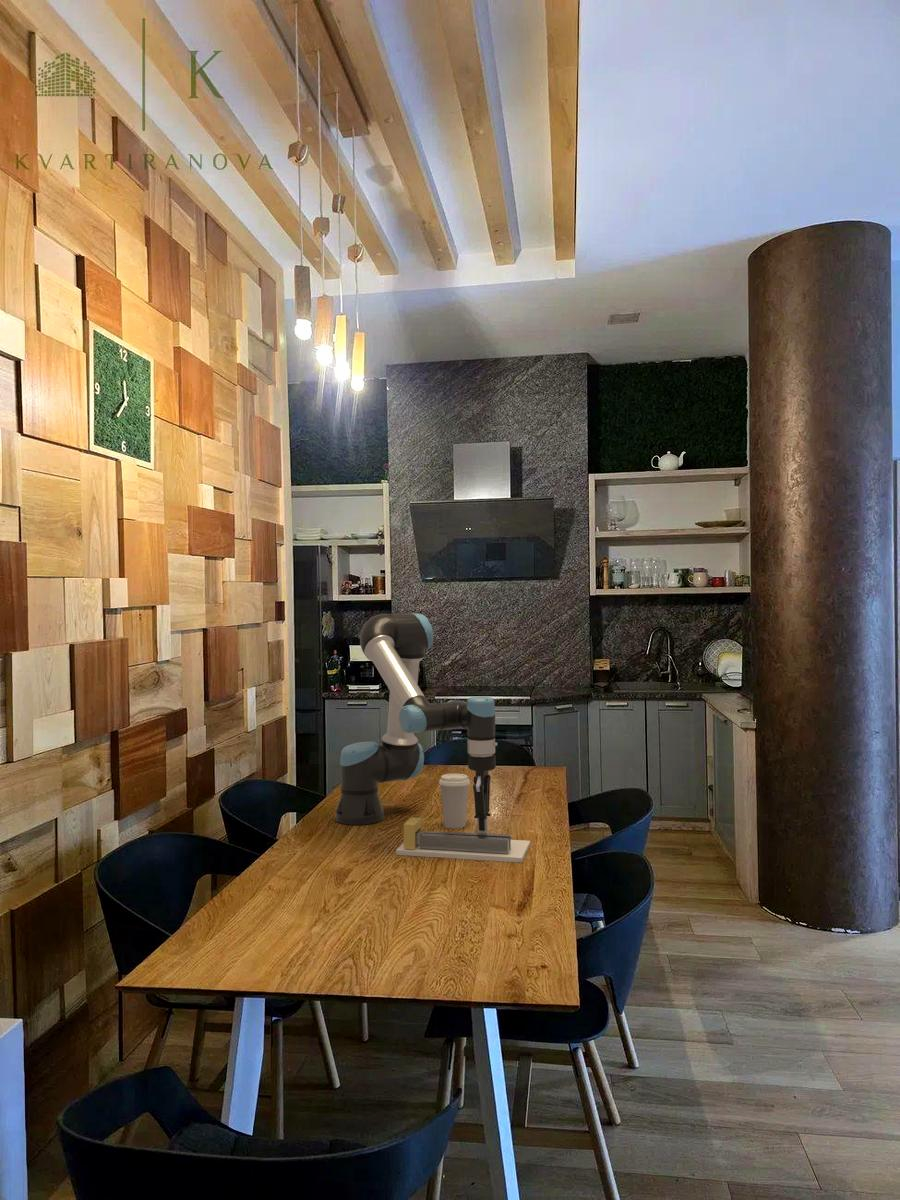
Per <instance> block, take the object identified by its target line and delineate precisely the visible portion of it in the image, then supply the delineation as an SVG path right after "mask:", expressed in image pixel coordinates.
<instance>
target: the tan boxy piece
mask: <svg viewBox="0 0 900 1200" xmlns="http://www.w3.org/2000/svg"><path fill="white" fill-rule="evenodd" d="M417 830H418V831H420V834H421V833H422V832H423V818H422V817H410V818H409V819H408V820H407V821H406V822H404V824H403V843H404V849H416V847H415V832H416V831H417Z"/></svg>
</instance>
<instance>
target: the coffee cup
mask: <svg viewBox="0 0 900 1200" xmlns="http://www.w3.org/2000/svg"><path fill="white" fill-rule="evenodd" d="M470 784H471V781H470V779H469V777H468V775H467V774H464V773H446V774H442V775H441V777H440V779H439V781H438V785H439V786H440V794H441V795H440V796H441V804H442V805H441V807H442V816H443V827H444V828H447V829H450V828H451V829H452V830H453V829H454V830H456V829H457V830H459V829H463V827H464V828H465V827H466V825H467V814H468V813H467V811H468V800H469V799H468V797H469V786H470Z"/></svg>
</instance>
